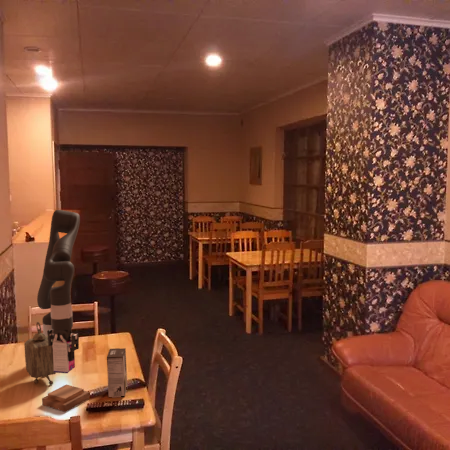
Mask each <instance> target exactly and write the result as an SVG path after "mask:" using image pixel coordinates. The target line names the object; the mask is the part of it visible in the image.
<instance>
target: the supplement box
mask: <svg viewBox="0 0 450 450" xmlns="http://www.w3.org/2000/svg"><path fill="white" fill-rule="evenodd" d="M70 342H71V341H70V340H69V341H68V342H67V343H70ZM67 343H63V342H62V341H58V340H57V341H54V342H53V363H54V373H57V374H69V372H70V371H72V370H74V369H75V367H76V358H74V360H73V361H71V362H70V361H68V352H69V351H68V347H67V345H66V344H67ZM69 346H70V348H71V345H69Z"/></svg>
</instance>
